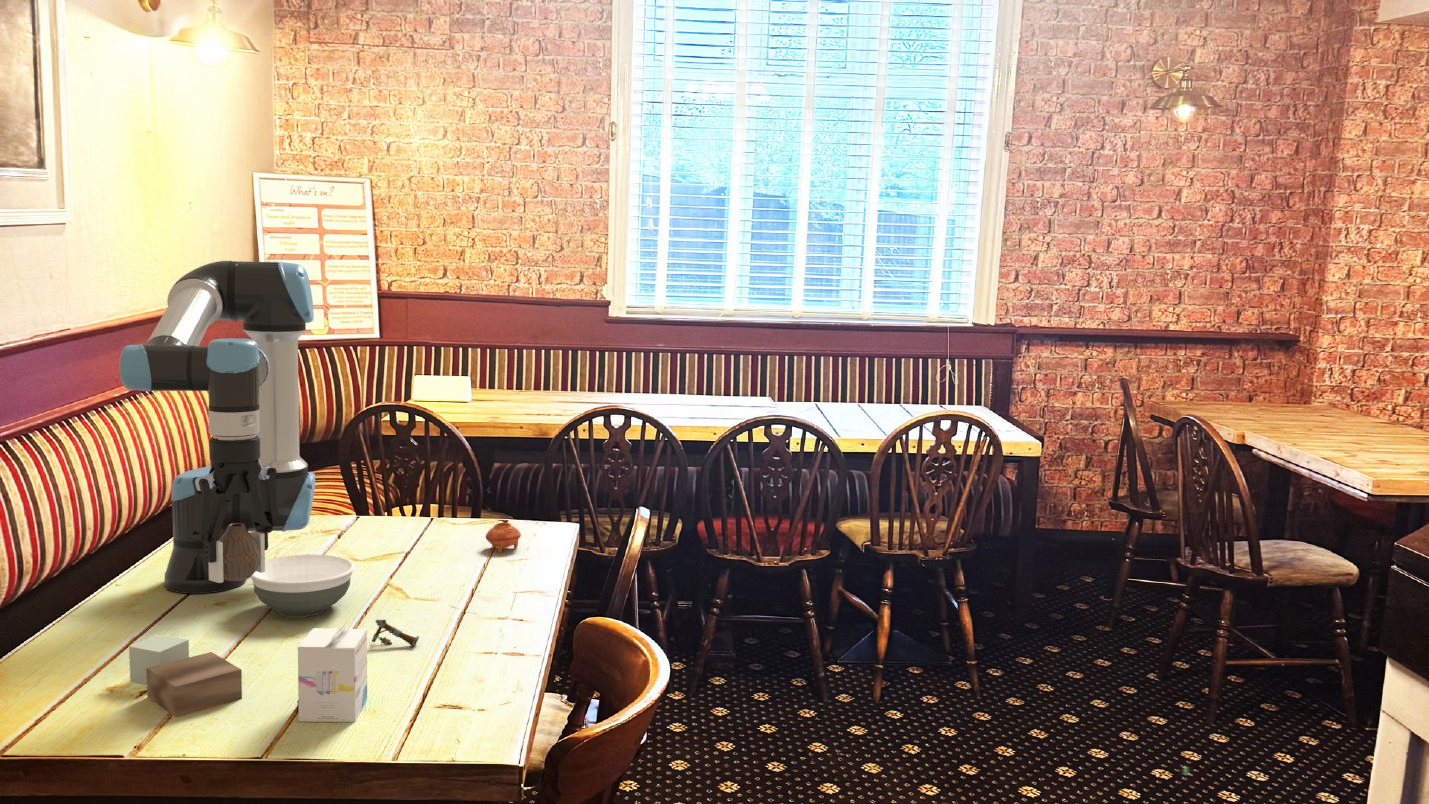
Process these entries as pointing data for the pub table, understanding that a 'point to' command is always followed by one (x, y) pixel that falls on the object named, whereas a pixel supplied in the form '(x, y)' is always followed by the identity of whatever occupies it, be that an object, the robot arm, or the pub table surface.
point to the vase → (239, 553)
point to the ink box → (332, 675)
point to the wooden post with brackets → (394, 631)
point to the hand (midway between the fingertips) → (237, 575)
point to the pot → (503, 536)
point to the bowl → (303, 583)
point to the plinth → (194, 684)
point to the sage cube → (155, 655)
